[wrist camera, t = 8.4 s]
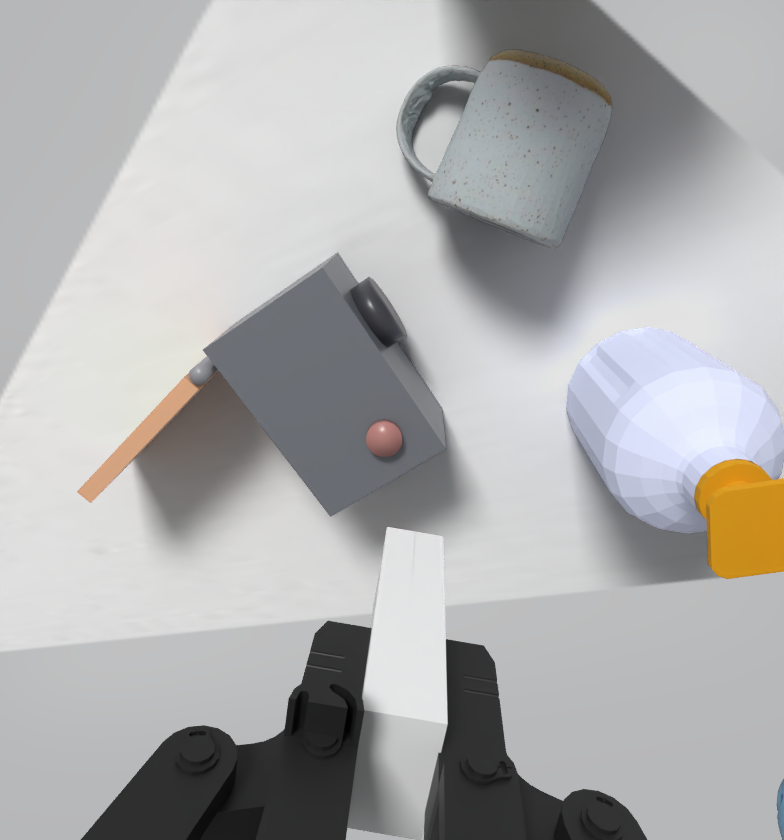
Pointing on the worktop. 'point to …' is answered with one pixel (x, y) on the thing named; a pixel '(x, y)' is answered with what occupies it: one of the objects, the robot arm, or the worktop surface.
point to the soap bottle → (685, 445)
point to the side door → (149, 428)
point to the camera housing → (333, 384)
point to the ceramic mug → (515, 142)
